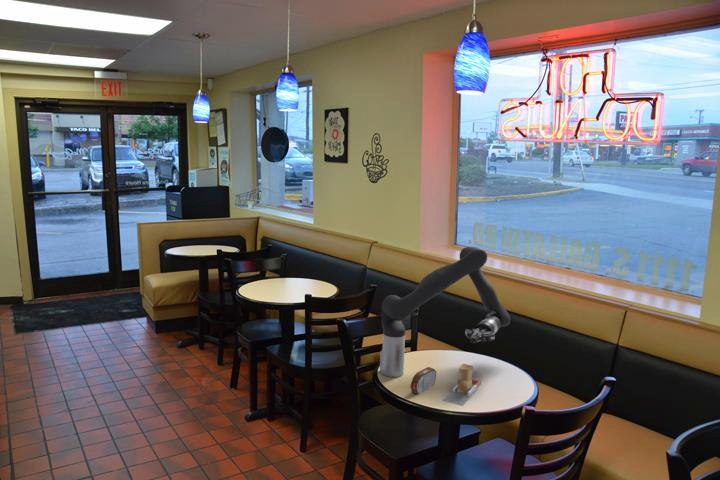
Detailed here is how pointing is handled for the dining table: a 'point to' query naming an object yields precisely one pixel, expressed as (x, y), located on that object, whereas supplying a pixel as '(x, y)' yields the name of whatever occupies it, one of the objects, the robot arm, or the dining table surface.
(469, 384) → the oak block
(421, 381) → the tin
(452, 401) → the long grey tray
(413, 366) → the dining table surface
